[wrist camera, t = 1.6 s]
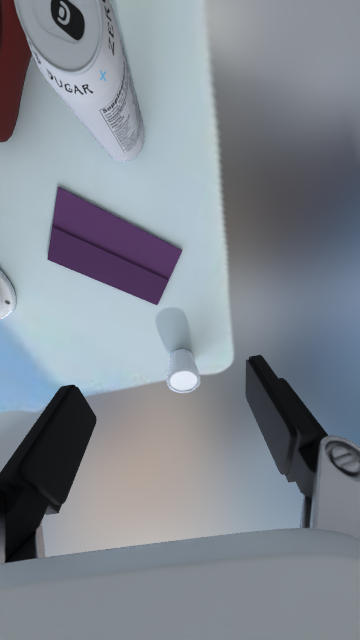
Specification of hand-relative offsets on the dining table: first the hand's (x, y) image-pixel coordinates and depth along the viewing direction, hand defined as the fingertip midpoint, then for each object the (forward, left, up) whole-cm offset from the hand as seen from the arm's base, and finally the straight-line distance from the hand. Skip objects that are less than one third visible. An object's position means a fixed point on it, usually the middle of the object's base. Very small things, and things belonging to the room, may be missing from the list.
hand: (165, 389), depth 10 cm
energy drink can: (-13, +15, -26) cm, 33 cm away
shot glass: (+10, -16, -26) cm, 32 cm away
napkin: (-10, 0, -25) cm, 27 cm away
